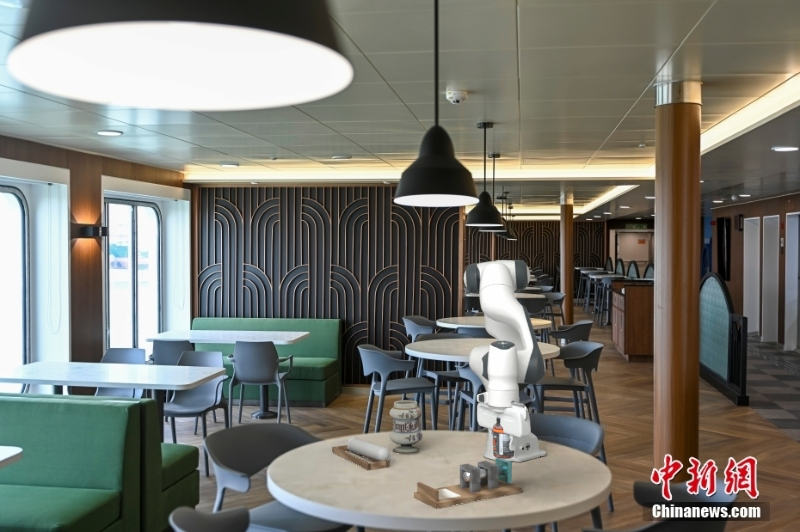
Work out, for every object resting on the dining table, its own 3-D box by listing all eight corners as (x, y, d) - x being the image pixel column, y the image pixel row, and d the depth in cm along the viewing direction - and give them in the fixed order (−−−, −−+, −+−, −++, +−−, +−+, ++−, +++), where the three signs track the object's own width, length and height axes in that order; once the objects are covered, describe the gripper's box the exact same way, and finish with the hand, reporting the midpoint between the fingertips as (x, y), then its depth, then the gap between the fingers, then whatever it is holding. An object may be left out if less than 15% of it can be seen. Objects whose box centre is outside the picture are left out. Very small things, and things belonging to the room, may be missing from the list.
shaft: (499, 477, 223) (499, 457, 223) (512, 482, 218) (511, 462, 218) (459, 484, 216) (459, 463, 216) (471, 489, 211) (471, 468, 211)
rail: (497, 482, 227) (497, 455, 227) (522, 492, 216) (522, 464, 216) (413, 497, 212) (413, 469, 212) (436, 509, 201) (436, 479, 201)
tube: (390, 465, 246) (357, 453, 268) (394, 449, 247) (361, 438, 269) (377, 461, 244) (345, 450, 266) (381, 445, 245) (349, 435, 267)
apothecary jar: (402, 445, 276) (402, 397, 276) (429, 450, 269) (428, 401, 269) (382, 452, 266) (382, 402, 266) (410, 457, 259) (409, 406, 259)
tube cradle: (352, 449, 270) (352, 444, 270) (388, 467, 245) (388, 461, 245) (332, 452, 266) (332, 447, 266) (367, 470, 241) (367, 464, 241)
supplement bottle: (491, 454, 212) (490, 415, 212) (511, 453, 212) (511, 414, 212) (495, 459, 206) (495, 419, 206) (516, 459, 206) (516, 418, 206)
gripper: (535, 403, 202) (536, 453, 202) (490, 392, 219) (490, 439, 219) (518, 405, 199) (518, 456, 198) (473, 394, 216) (473, 441, 216)
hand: (503, 447), depth 209 cm, fingers closed on supplement bottle, 6 cm apart
